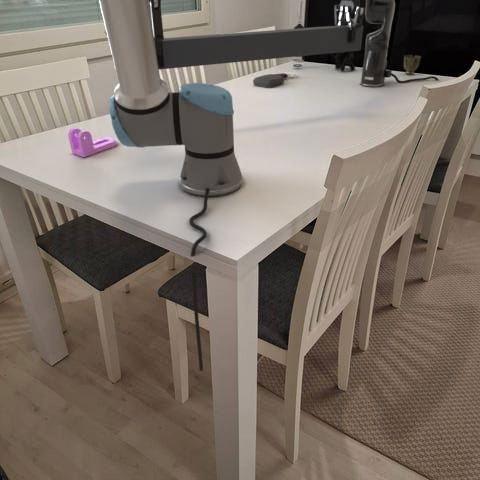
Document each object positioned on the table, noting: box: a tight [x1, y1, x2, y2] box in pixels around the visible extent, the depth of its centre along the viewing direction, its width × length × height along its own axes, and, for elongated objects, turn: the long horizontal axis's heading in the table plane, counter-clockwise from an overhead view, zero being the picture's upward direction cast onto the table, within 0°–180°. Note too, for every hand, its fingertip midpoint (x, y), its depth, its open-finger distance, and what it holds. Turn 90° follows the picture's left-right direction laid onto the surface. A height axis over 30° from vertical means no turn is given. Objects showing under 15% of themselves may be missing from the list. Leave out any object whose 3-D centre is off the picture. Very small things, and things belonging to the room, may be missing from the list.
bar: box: [159, 24, 364, 71], centre depth 134 cm, size 72×5×7 cm, turn 112°
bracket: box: [67, 127, 117, 158], centre depth 130 cm, size 13×6×7 cm, turn 143°
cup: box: [403, 54, 422, 76], centre depth 208 cm, size 8×7×8 cm
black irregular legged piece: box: [330, 51, 356, 72], centre depth 219 cm, size 11×10×15 cm
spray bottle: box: [252, 71, 300, 88], centre depth 201 cm, size 3×11×24 cm
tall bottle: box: [291, 0, 305, 69], centre depth 218 cm, size 6×6×30 cm
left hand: (157, 65), depth 126 cm, fingers closed on bar, 5 cm apart
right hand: (346, 41), depth 145 cm, fingers closed on bar, 5 cm apart
